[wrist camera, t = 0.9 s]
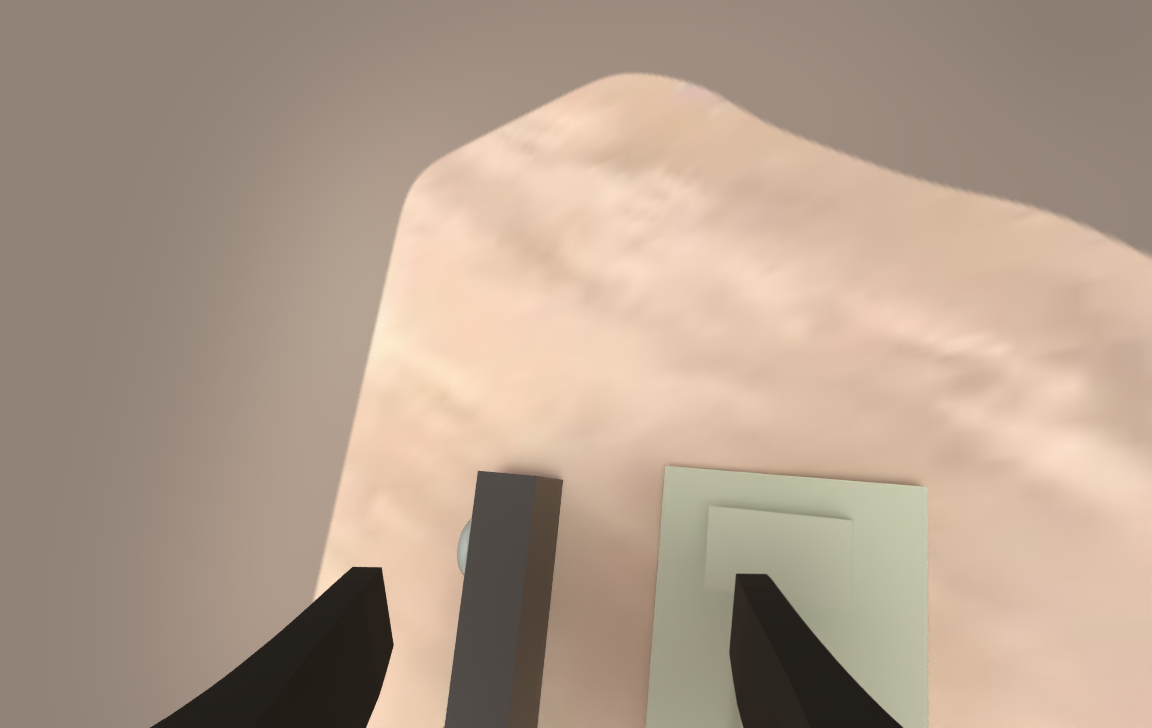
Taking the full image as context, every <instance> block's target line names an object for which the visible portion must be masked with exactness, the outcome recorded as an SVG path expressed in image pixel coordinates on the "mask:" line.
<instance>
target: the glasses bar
mask: <svg viewBox="0 0 1152 728" xmlns="http://www.w3.org/2000/svg"><path fill="white" fill-rule="evenodd" d="M562 485H563V480H557V479H551V478H544V477H537V476H527V475H517V474H506V473H496V472H485V471H478V475H477V483H476V490H475V498H474V506H473V513H472V519H470V520H469V521H468V522H467V524H466V525H465V527H464V529H463V531H462V533H461V536H460V539H459V543H458V550H457V560H458V566H459V569H460V571H461V573H462V574H463V575H464V582H463V590H462V598H461V605H460V613H459V621H458V628H457V636H456V644H455V651H454V659H453V667H452V674H451V682H450V690H449V697H448V705H447V713H446V720H445V726H444V727H443V728H537V724H538V714H539V705H540V695H541V686H542V676H543V667H544V657H545V647H546V638H547V628H548V619H549V609H550V600H551V590H552V581H553V571H554V561H555V552H556V542H557V533H558V523H559V514H560V504H561V494H562Z"/></svg>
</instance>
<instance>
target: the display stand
mask: <svg viewBox="0 0 1152 728" xmlns="http://www.w3.org/2000/svg"><path fill="white" fill-rule="evenodd" d="M736 573H738V574H767V575H768V576H769V577H770V578H771V579H772V580H773V581H774V583H775V584H776V585H777V587H778V588H779V589H780V591H781V592H782V593H783V595H784V596H785V597H786V599H787V600H788V601H789V603H790V604H791V605H792V607H793V608H794V609H795V610H796V612H797V613H798V614H799V615H800V617H801V618H802V619H803V621H804V622H805V623H806V624H807V626H808V627H809V628H810V629H811V630H812V632H813V633H814V634H815V635H816V636H817V638H818V639H819V640H820V641H821V642H822V643H823V645H824V646H825V647H826V648H827V649H828V650H829V652H830V653H831V654H832V655H833V656H834V657H835V659H836V660H837V661H838V662H839V663H840V664H841V665H842V666H843V668H844V669H845V670H846V671H847V672H848V673H849V674H850V675H851V676H852V677H853V678H854V679H855V680H856V682H857V683H858V684H859V685H860V686H861V687H862V688H863V689H864V690H865V691H866V692H867V693H868V694H869V695H870V696H871V697H872V698H873V699H874V700H875V701H876V702H877V703H878V704H879V705H880V706H881V707H882V708H883V709H884V710H885V711H886V712H887V713H888V714H889V715H890V716H891V717H892V718H893V719H895V720H896V721H897V722H898V723H899V724H900V725H901V726H902V727H903V728H928V487H923V486H911V485H898V484H886V483H873V482H861V481H849V480H836V479H824V478H811V477H799V476H787V475H774V474H762V473H749V472H737V471H724V470H712V469H700V468H687V467H675V466H665V473H664V486H663V499H662V513H661V526H660V539H659V553H658V566H657V580H656V593H655V606H654V620H653V633H652V647H651V660H650V673H649V687H648V700H647V714H646V727H645V728H743V725H742V721H741V718H740V714H739V710H738V706H737V701H736V695H735V689H734V683H733V676H732V669H731V663H730V656H729V648H730V636H731V625H732V613H733V602H734V590H735V578H736Z"/></svg>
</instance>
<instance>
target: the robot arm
mask: <svg viewBox="0 0 1152 728" xmlns="http://www.w3.org/2000/svg"><path fill="white" fill-rule="evenodd" d="M393 646H394V644H393V638H392V631H391V625H390V618H389V612H388V605H387V599H386V592H385V586H384V579H383V573H382V567H352V568H351V569H350V570H349V571H348V572H346V573H345V574H344V575H343V576H342V577H341V578H340V579H339V580H337V581H336V582H335V583H334V584H333V585H332V586H331V587H330V588H329V589H328V590H326V591H325V592H324V593H323V594H322V595H321V596H320V597H319V598H318V599H317V600H315V601H314V602H313V603H312V604H311V605H310V606H309V607H308V608H307V609H306V610H304V611H303V612H302V613H301V614H300V615H299V616H298V617H296V619H294V620H293V621H292V622H291V623H290V624H289V625H287V626H286V627H285V628H284V629H283V630H282V631H281V632H279V633H278V634H277V635H276V636H275V637H274V638H272V639H271V640H270V641H269V642H268V643H266V644H265V645H264V646H263V647H262V648H260V649H259V650H258V651H257V652H255V653H254V654H253V655H251V656H250V657H249V658H248V659H247V660H245V661H244V662H243V663H242V664H241V665H239V666H238V667H237V668H235V669H234V670H233V671H232V672H230V673H229V674H228V675H226V676H225V677H224V678H223V679H221V680H220V681H218V682H217V683H216V684H214V685H213V686H212V687H210V688H209V689H208V690H206V691H205V692H203V693H202V694H200V695H199V696H198V697H196V698H195V699H193V700H192V701H190V702H189V703H188V704H186V705H185V706H183V707H182V708H180V709H179V710H177V711H176V712H174V713H173V714H172V715H170V716H168V717H167V718H165V719H163V720H162V721H160V722H158V723H157V724H155V725H154V726H152V727H150V728H366V726H367V724H368V722H369V719H370V717H371V714H372V712H373V710H374V707H375V705H376V702H377V700H378V697H379V695H380V692H381V688H382V685H383V681H384V678H385V675H386V671H387V668H388V664H389V660H390V657H391V653H392V649H393ZM729 656H730V663H731V669H732V676H733V683H734V689H735V695H736V701H737V706H738V710H739V714H740V718H741V721H742V725H743V728H903V727H902V726H901V725H900V724H899V723H898V722H897V721H896V720H895V719H893V718H892V717H891V716H890V715H889V714H888V713H887V712H886V711H885V710H884V709H883V708H882V707H881V706H880V705H879V704H878V703H877V702H876V701H875V700H874V699H873V698H872V697H871V696H870V695H869V694H868V693H867V692H866V691H865V690H864V689H863V688H862V687H861V686H860V685H859V684H858V683H857V682H856V680H855V679H854V678H853V677H852V676H851V675H850V674H849V673H848V672H847V671H846V670H845V669H844V668H843V666H842V665H841V664H840V663H839V662H838V661H837V660H836V659H835V657H834V656H833V655H832V654H831V653H830V652H829V650H828V649H827V648H826V647H825V646H824V645H823V643H822V642H821V641H820V640H819V639H818V638H817V636H816V635H815V634H814V633H813V632H812V630H811V629H810V628H809V627H808V626H807V624H806V623H805V622H804V621H803V619H802V618H801V617H800V615H799V614H798V613H797V612H796V610H795V609H794V608H793V607H792V605H791V604H790V603H789V601H788V600H787V599H786V597H785V596H784V595H783V593H782V592H781V591H780V589H779V588H778V587H777V585H776V584H775V583H774V581H773V580H772V579H771V578H770V577H769V576H768V575H767V574H738V573H736V578H735V590H734V602H733V613H732V625H731V636H730V648H729Z"/></svg>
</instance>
